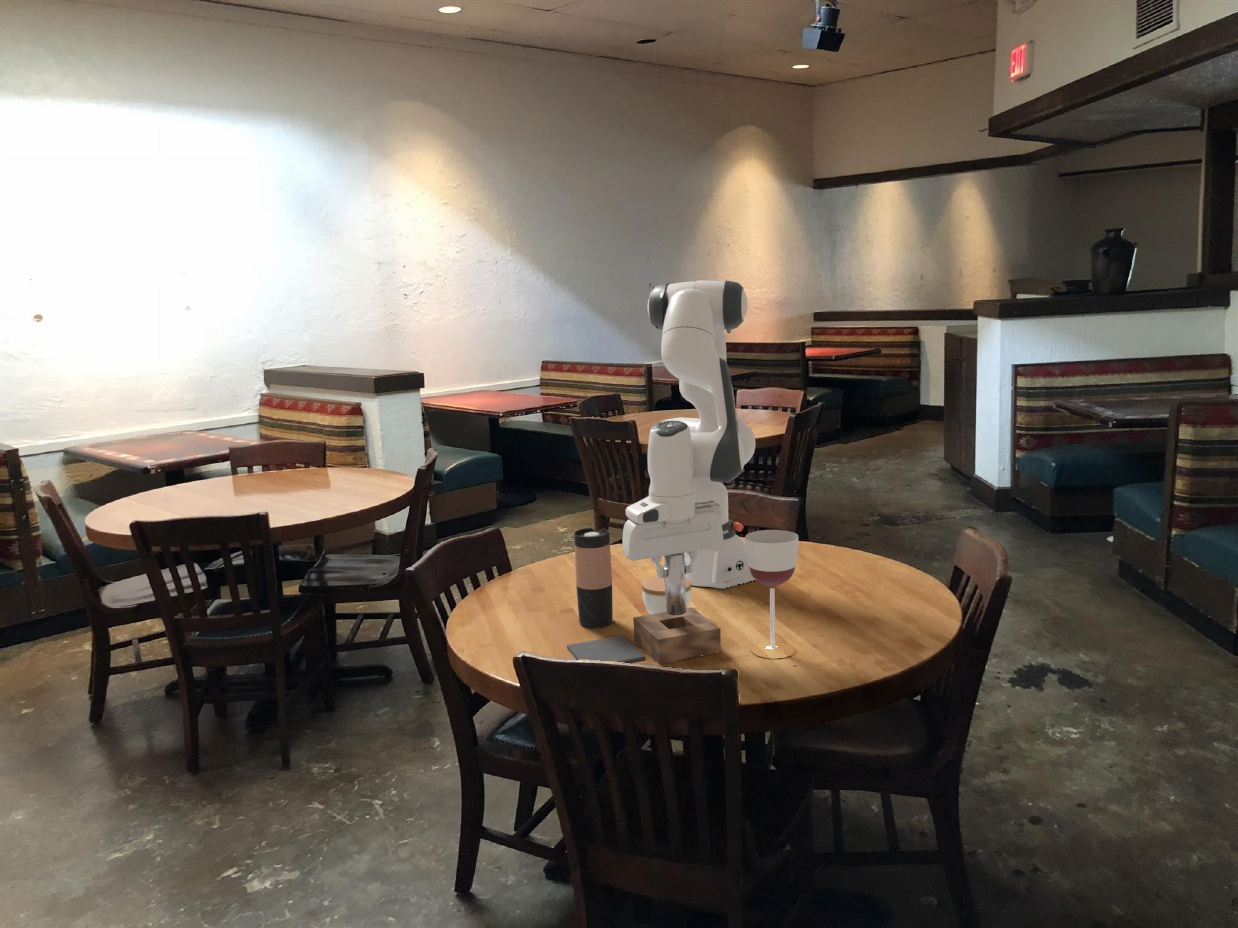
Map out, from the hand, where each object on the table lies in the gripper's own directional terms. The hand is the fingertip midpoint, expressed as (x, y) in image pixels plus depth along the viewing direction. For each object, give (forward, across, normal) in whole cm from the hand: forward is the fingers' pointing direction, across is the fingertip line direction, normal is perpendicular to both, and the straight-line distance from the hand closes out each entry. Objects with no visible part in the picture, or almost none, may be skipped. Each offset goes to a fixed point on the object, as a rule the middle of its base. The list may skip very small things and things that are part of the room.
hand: (674, 574), depth 183 cm
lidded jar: (+15, -5, -16) cm, 22 cm away
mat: (+15, +14, -3) cm, 21 cm away
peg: (+8, 0, 0) cm, 8 cm away
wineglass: (+15, -16, +10) cm, 24 cm away
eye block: (+15, 0, 0) cm, 15 cm away
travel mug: (+15, +10, -20) cm, 27 cm away
